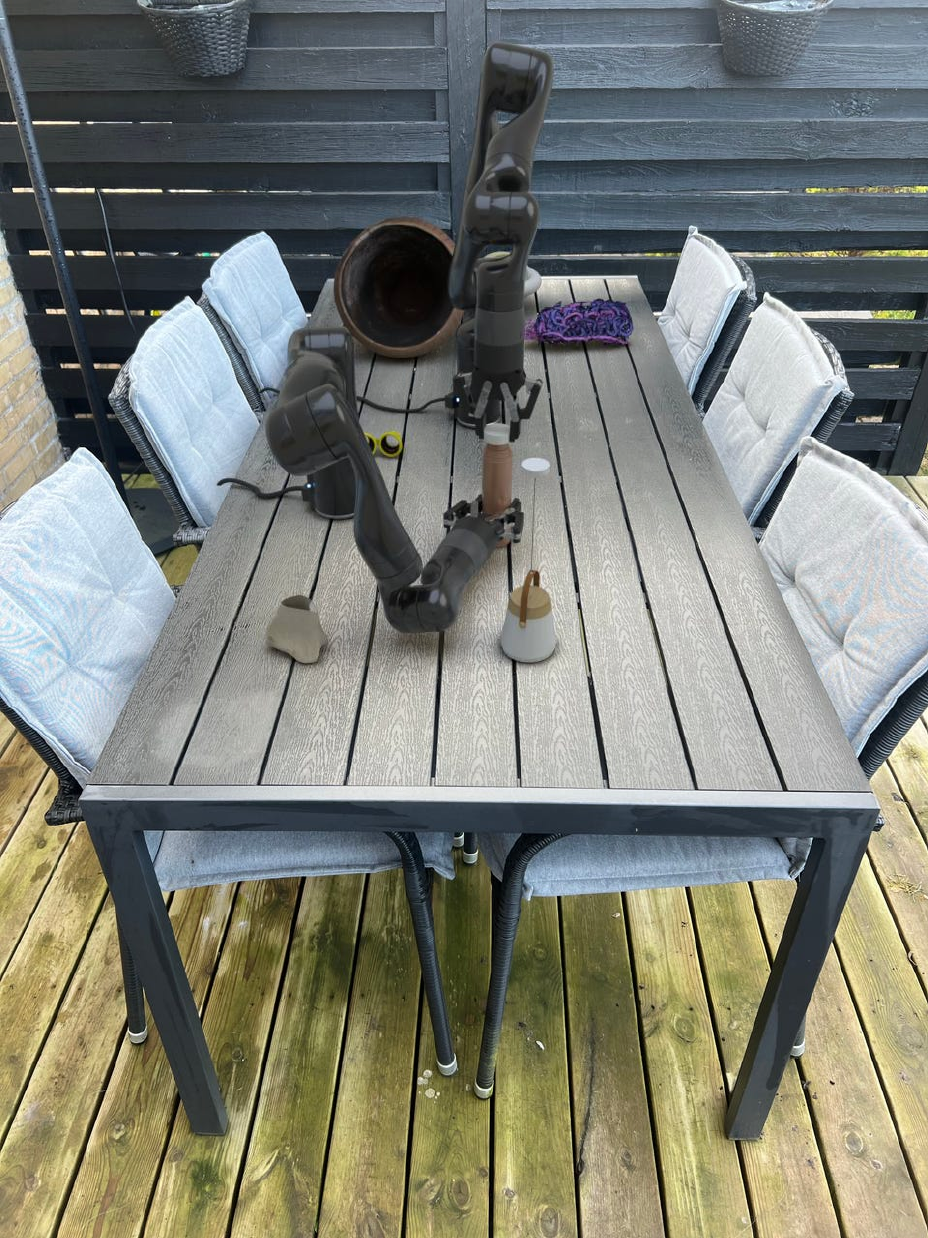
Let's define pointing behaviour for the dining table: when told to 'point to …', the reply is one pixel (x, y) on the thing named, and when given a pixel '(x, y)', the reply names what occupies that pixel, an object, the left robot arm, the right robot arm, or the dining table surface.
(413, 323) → the pot
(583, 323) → the decorative ornament
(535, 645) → the pendant light
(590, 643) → the dining table surface
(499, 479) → the bottle
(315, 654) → the grey hollow flared piece
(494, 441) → the cap
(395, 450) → the opera glasses
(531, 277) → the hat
